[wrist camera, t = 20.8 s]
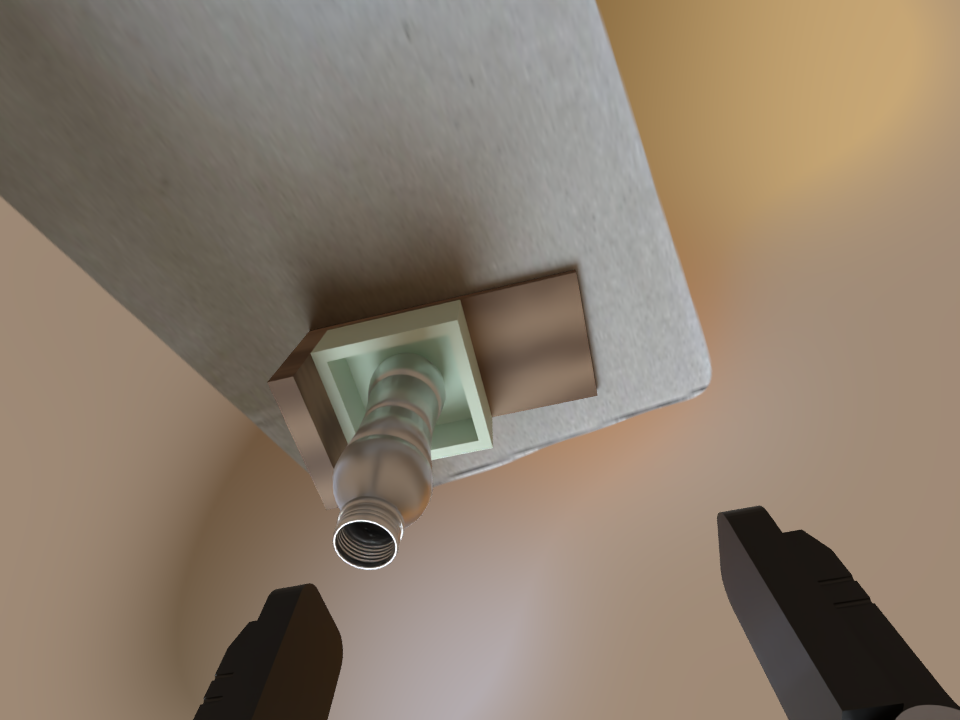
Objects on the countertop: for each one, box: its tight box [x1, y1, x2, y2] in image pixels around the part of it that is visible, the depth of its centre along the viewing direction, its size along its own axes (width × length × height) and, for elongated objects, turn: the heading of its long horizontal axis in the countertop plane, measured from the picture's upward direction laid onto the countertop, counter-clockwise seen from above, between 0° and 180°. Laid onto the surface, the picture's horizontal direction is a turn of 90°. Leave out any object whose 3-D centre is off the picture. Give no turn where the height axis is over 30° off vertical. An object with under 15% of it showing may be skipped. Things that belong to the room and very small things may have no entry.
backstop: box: [267, 270, 597, 509], centre depth 44 cm, size 12×24×10 cm, turn 104°
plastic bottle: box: [333, 353, 446, 570], centre depth 38 cm, size 6×7×20 cm
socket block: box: [310, 300, 493, 460], centre depth 46 cm, size 12×12×5 cm
